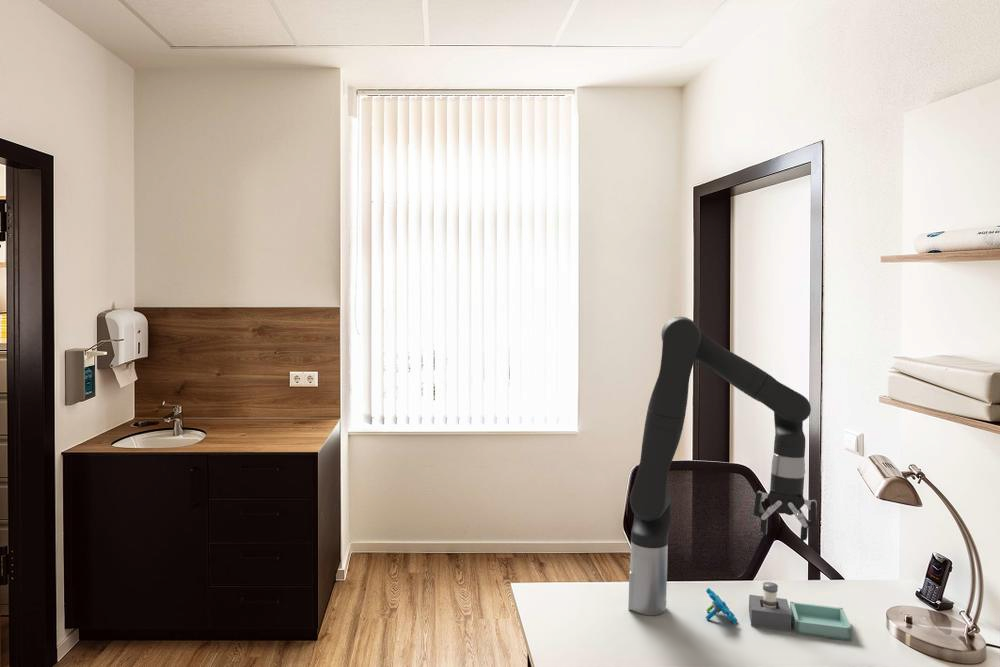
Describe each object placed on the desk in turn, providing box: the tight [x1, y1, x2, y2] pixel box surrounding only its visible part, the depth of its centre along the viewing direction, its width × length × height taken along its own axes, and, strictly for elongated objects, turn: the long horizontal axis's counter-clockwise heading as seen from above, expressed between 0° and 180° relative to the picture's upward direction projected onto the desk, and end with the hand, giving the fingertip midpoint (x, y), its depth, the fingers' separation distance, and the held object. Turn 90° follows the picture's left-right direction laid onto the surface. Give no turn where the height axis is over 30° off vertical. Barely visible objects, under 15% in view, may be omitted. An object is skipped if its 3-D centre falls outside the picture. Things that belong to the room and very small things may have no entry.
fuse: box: [762, 581, 779, 609], centre depth 176 cm, size 3×3×9 cm
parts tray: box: [789, 601, 853, 642], centre depth 174 cm, size 12×11×3 cm
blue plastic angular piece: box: [705, 587, 739, 624], centre depth 177 cm, size 11×6×10 cm
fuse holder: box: [748, 594, 792, 632], centre depth 177 cm, size 9×9×4 cm
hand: (783, 537), depth 175 cm, fingers open, 8 cm apart
